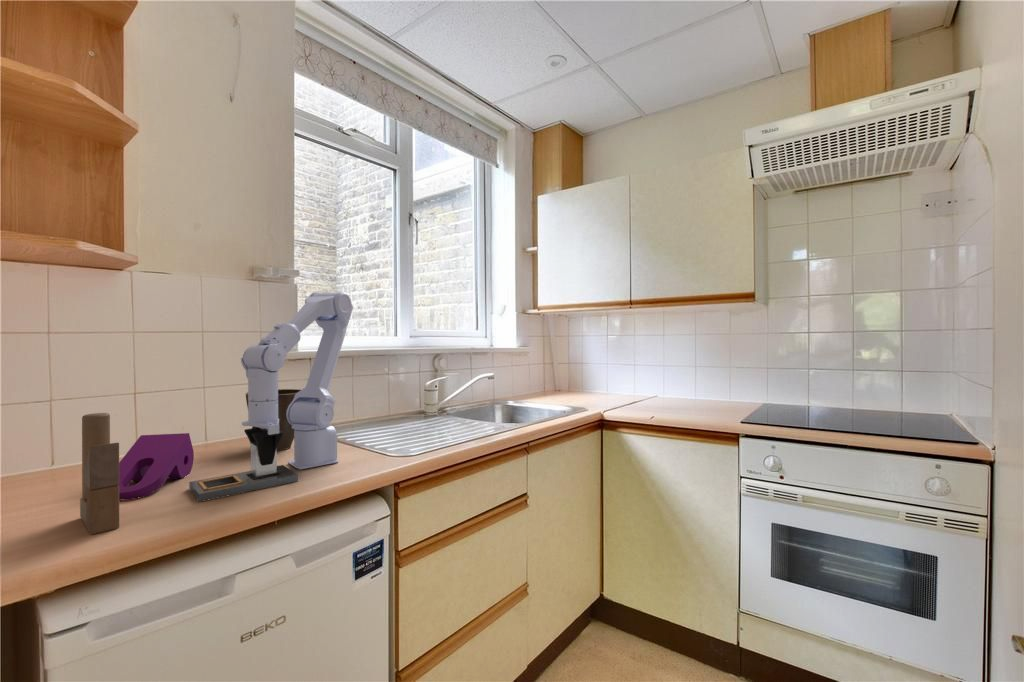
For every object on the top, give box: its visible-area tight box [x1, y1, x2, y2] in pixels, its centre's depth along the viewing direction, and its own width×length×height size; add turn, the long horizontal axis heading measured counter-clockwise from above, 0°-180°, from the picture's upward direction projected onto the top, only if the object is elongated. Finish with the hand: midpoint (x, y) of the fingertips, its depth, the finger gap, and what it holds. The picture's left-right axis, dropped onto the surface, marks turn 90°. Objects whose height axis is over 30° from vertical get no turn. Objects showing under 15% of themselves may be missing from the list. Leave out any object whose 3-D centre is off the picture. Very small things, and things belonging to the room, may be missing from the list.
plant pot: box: [245, 388, 302, 452], centre depth 128 cm, size 15×15×16 cm
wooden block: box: [79, 412, 120, 535], centre depth 76 cm, size 4×11×18 cm, turn 50°
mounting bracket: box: [119, 432, 195, 500], centre depth 96 cm, size 9×8×18 cm
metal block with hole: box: [250, 442, 278, 477], centre depth 98 cm, size 4×4×7 cm
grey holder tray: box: [188, 464, 299, 502], centre depth 96 cm, size 18×10×2 cm, turn 134°
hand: (263, 462), depth 98 cm, fingers closed on metal block with hole, 4 cm apart
